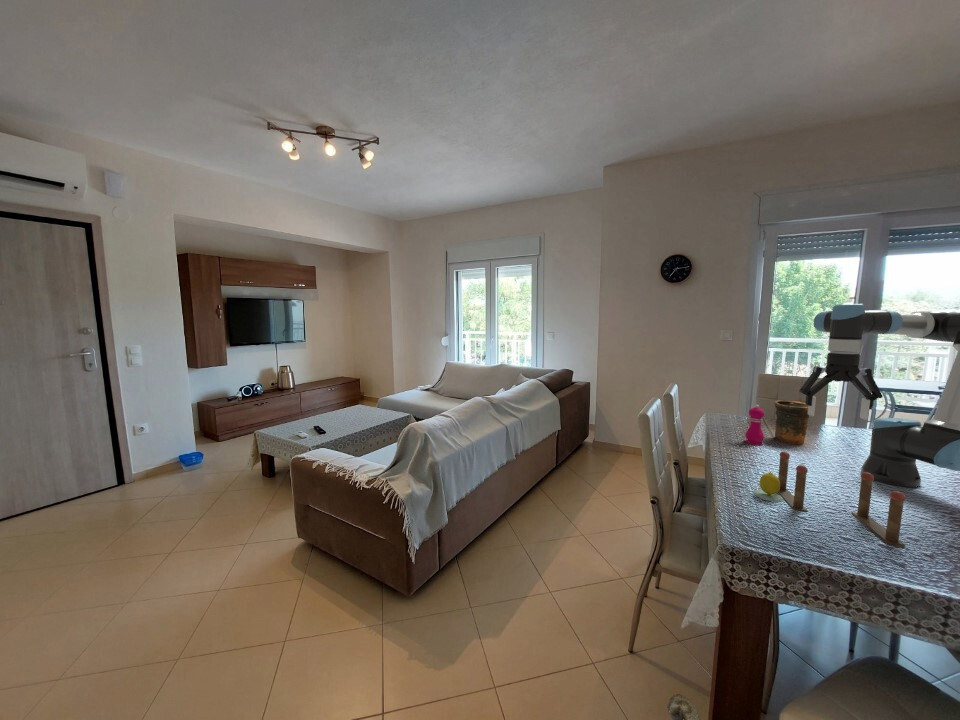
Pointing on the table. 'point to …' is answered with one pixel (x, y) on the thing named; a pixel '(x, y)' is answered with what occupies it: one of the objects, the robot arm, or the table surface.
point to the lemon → (769, 483)
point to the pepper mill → (755, 426)
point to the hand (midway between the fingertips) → (836, 417)
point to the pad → (768, 496)
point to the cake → (682, 708)
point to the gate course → (862, 515)
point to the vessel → (791, 422)
